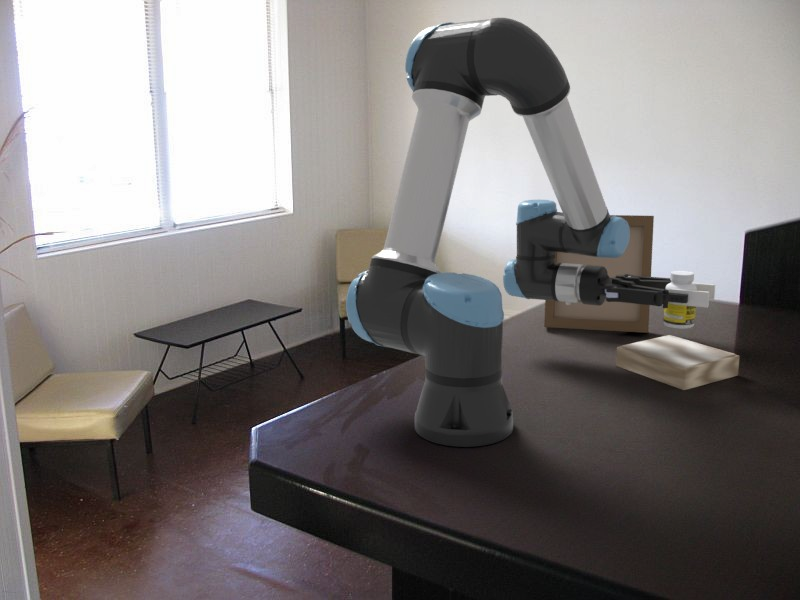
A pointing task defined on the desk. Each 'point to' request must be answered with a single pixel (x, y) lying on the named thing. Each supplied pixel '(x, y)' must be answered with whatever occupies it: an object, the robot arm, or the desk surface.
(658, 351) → the pedestal
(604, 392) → the desk surface
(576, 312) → the photo frame
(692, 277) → the supplement bottle
